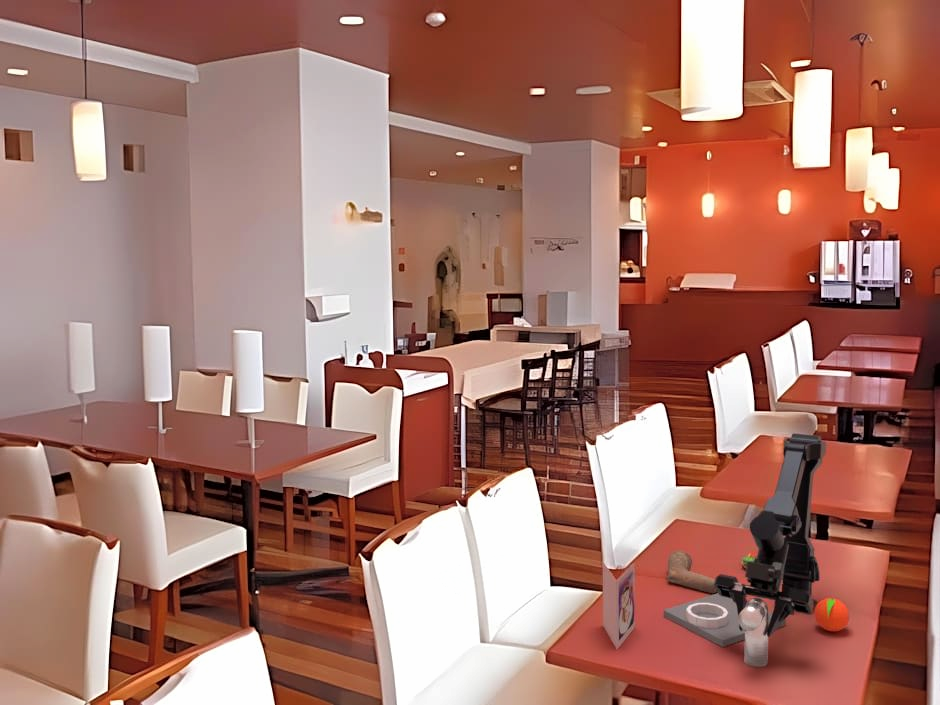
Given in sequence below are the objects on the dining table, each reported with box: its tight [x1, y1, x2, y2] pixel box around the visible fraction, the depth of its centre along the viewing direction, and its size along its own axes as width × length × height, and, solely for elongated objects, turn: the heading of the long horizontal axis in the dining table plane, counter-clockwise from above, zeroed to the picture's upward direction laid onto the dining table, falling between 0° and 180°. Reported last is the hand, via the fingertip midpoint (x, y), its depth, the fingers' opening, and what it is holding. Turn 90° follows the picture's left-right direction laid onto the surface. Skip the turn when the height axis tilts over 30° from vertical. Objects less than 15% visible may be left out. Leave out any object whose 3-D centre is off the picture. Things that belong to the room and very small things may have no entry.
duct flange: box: [663, 592, 787, 648], centre depth 193 cm, size 19×18×4 cm
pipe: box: [666, 550, 718, 595], centre depth 215 cm, size 6×17×10 cm
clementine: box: [814, 597, 850, 632], centre depth 187 cm, size 8×7×7 cm
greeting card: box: [602, 561, 636, 650], centre depth 187 cm, size 11×7×15 cm, turn 151°
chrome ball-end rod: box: [738, 597, 770, 668], centre depth 172 cm, size 8×4×13 cm, turn 146°
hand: (754, 633), depth 173 cm, fingers open, 5 cm apart
